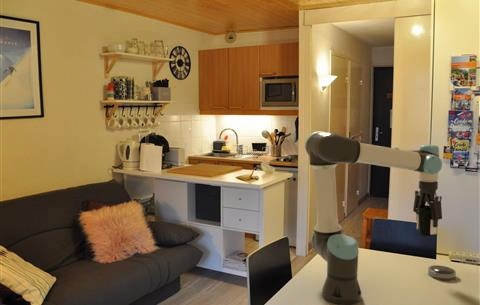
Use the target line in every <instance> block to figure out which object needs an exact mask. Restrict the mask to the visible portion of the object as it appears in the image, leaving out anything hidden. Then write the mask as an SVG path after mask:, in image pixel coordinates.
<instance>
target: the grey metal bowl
mask: <svg viewBox="0 0 480 305" xmlns="http://www.w3.org/2000/svg"><path fill="white" fill-rule="evenodd" d="M427 271H428V272H427V275H428V276H429V277H431V278H433V279H436V280H438V281H445V282H446V281H447V282H448V281H449V282H450V281H454V280H455V279H456V276H457V275H456V274H457V272H456V270H455V269H453V268H451V267H448V266H446V265H445V266H444V265H430V266H429V267H428V269H427Z"/></svg>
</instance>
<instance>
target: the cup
mask: <svg viewBox="0 0 480 305" xmlns="http://www.w3.org/2000/svg"><path fill="white" fill-rule="evenodd" d="M418 217H419V229H418V231H419V235H421V236H425V237H427V236H428V237H431V236H433V235H434V234H432V235H431V234H430V226H431V219H432V215H431V209H430V207H429V204H427V205H426V204H425V206H424V207H423V208H420V206H418Z"/></svg>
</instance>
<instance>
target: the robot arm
mask: <svg viewBox="0 0 480 305" xmlns="http://www.w3.org/2000/svg"><path fill="white" fill-rule="evenodd" d="M419 147H420V148H419V149H418V150H417V149H416V150H413V149H412V150H404V149H400V148H395V147H394V148H393V147H387V146H380V145H374V144H370V143H362V142H361V141H360V140H359V139H354V138H352V137H351V138H350V137H348V136H344V135H341V134H338V133H336V132H328V131H326V130H320V131H319V130H318V131H314V132H312V133H311V134H309V136H308V137H307V139H306V140H305V146H304V148H305V151H306V153H307V155H308V157H309V165H310V167H311V168H313V175H314V176H313V177H314V192H315V208H316V209H315V210H316V211H315V212H316V222H317V223H316V224H315V226H314V227H313V233H312V235H311V239H310V240H311V241H310V242H311V246H312V249H313V250H314V252H315V253H316V254H318V255H319V256H320V257H321V258H322V259H323V260H324V261H326V263H327V264H326V265H327V266H326V278H325V280H324V283H323V286H322V288H321V290H322V291H321V295H322V297H323V299H324V300H326V301H328V302H329V303H333V304H336V305H354V304H357V303H359V302H361V300H362V290H361V286H360V283H359V280H358V271H359V270H358V268H359V264H358V263H359V251H360V250H359V244H358V241H357V240H356V239H355V238H354V237H352V236H349V235H348V236H347V235H346V234H343V227H342V225H340V223H339V221H338V220H339V218H338V217H339V216H338V198H337V182H336V180H337V179H336V167H337V166H338V164H350V165H355V164H357V163H359V164H368V165H375V166H380V167H387V168H394V169H399V170H405V171H406V170H408V171H413V172H418V179H419V181H418V189H419V190H415V191H414V203H413V209H412V211H413V213H415V214H416V217H415V219H416V230H419V217H418V206H420V208H423V207H424V206H425V205H426V203H427V205H428V206H429V207H430V209H431V215H432V219H431V226H430V234H431V235H432V234H433V235H437V234H438V233H437V232H438V231H437V230H438V226H439V220H442V219H443V210H442V209H443V208H442V199H443V197H442V195H441V196H439V195H437V190H438V189H439V187H438V186H439V184H438V183H439V182H438V180H439V172H440V171H441V169H442V167H443V161H442V159H441V158H440V148H439V146H438V145H435V144H422V145H420V146H419ZM433 235H432V236H433Z"/></svg>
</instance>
